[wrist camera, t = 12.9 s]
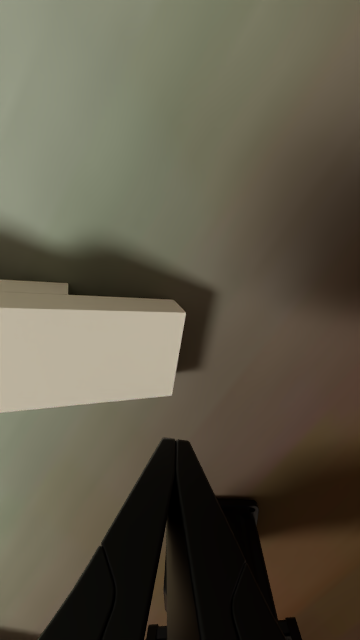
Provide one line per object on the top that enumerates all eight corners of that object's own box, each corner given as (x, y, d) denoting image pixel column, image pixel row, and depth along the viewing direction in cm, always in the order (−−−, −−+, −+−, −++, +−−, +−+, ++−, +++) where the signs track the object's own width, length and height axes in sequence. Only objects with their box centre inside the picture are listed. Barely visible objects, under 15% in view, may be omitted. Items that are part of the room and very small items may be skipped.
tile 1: (186, 312, 13) (-78, 305, 9) (171, 395, 14) (-53, 417, 11) (173, 299, 14) (-52, 289, 11) (162, 375, 16) (-35, 388, 12)
